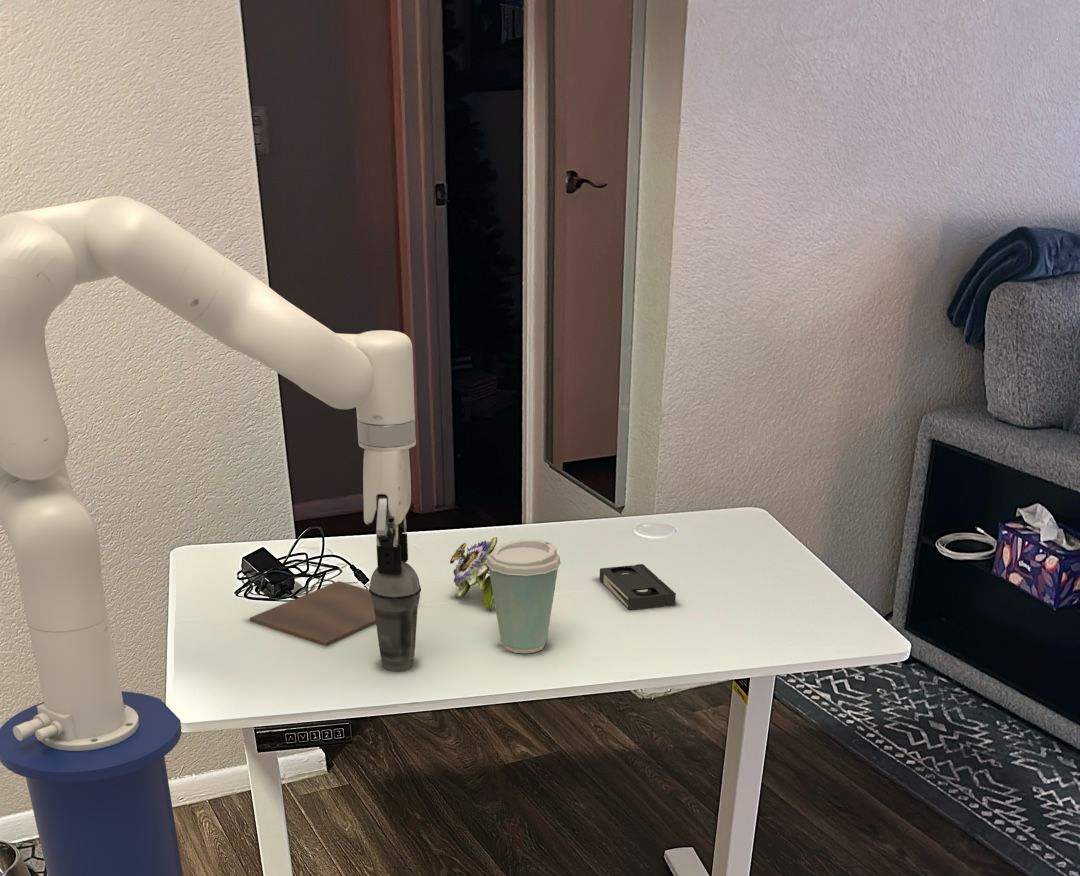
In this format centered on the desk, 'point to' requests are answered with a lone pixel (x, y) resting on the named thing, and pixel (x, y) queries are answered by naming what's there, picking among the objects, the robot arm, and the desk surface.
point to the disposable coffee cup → (523, 592)
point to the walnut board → (323, 614)
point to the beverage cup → (396, 615)
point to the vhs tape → (637, 587)
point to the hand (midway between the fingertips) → (393, 566)
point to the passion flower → (474, 569)
